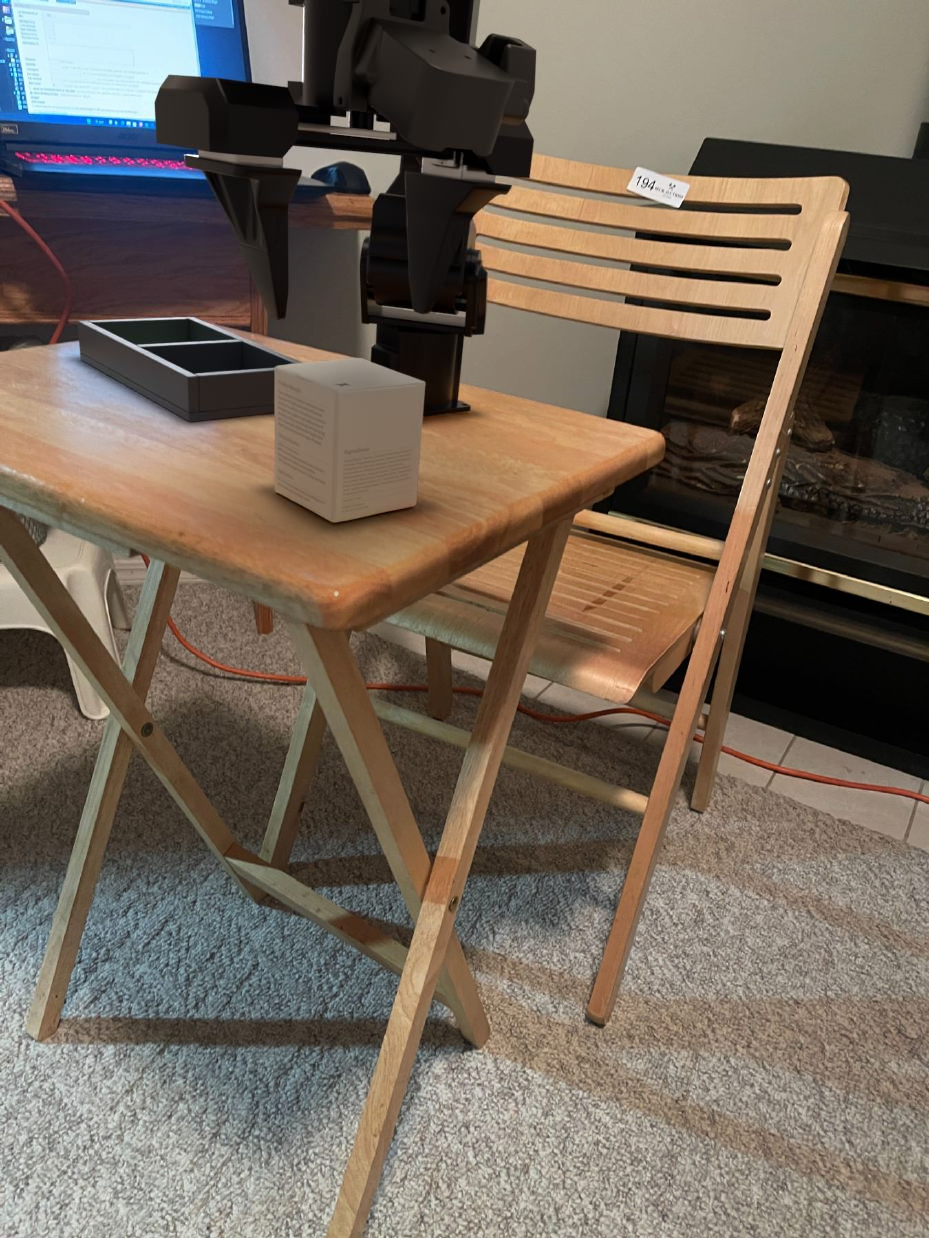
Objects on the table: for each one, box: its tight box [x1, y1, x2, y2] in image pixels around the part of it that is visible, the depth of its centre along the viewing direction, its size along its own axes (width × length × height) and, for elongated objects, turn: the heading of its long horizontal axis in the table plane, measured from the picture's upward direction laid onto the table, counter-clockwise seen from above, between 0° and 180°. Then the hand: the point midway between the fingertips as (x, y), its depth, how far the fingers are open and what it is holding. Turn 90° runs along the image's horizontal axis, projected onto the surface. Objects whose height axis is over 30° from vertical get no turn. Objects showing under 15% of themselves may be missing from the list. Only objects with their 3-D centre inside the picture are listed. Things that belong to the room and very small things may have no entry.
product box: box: [274, 357, 425, 523], centre depth 52 cm, size 6×6×7 cm
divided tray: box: [76, 316, 304, 423], centre depth 73 cm, size 10×19×3 cm, turn 41°
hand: (353, 315), depth 49 cm, fingers open, 9 cm apart
